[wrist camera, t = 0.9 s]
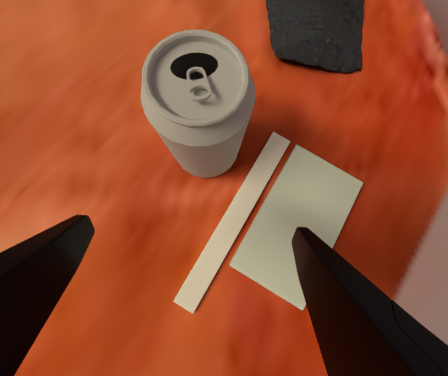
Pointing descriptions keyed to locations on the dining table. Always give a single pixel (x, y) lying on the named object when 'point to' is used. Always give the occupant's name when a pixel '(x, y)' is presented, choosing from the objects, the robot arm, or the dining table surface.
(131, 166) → the dining table surface
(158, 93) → the can
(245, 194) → the strip
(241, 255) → the pad
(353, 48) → the dark slate chunk
